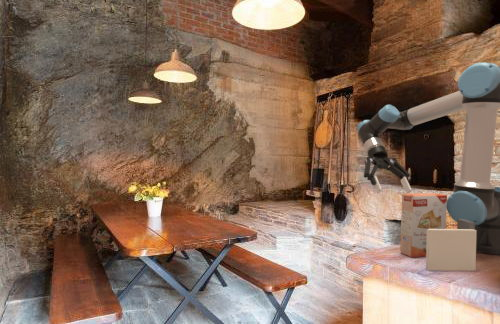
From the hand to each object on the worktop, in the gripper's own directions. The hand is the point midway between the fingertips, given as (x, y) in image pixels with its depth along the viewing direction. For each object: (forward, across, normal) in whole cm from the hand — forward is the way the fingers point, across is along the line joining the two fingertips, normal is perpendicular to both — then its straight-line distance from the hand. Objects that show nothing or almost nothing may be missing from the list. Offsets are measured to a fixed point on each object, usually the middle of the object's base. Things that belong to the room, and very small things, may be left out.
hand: (394, 191), depth 133 cm
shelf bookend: (+34, +3, +10) cm, 35 cm away
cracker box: (+26, +1, 0) cm, 26 cm away
